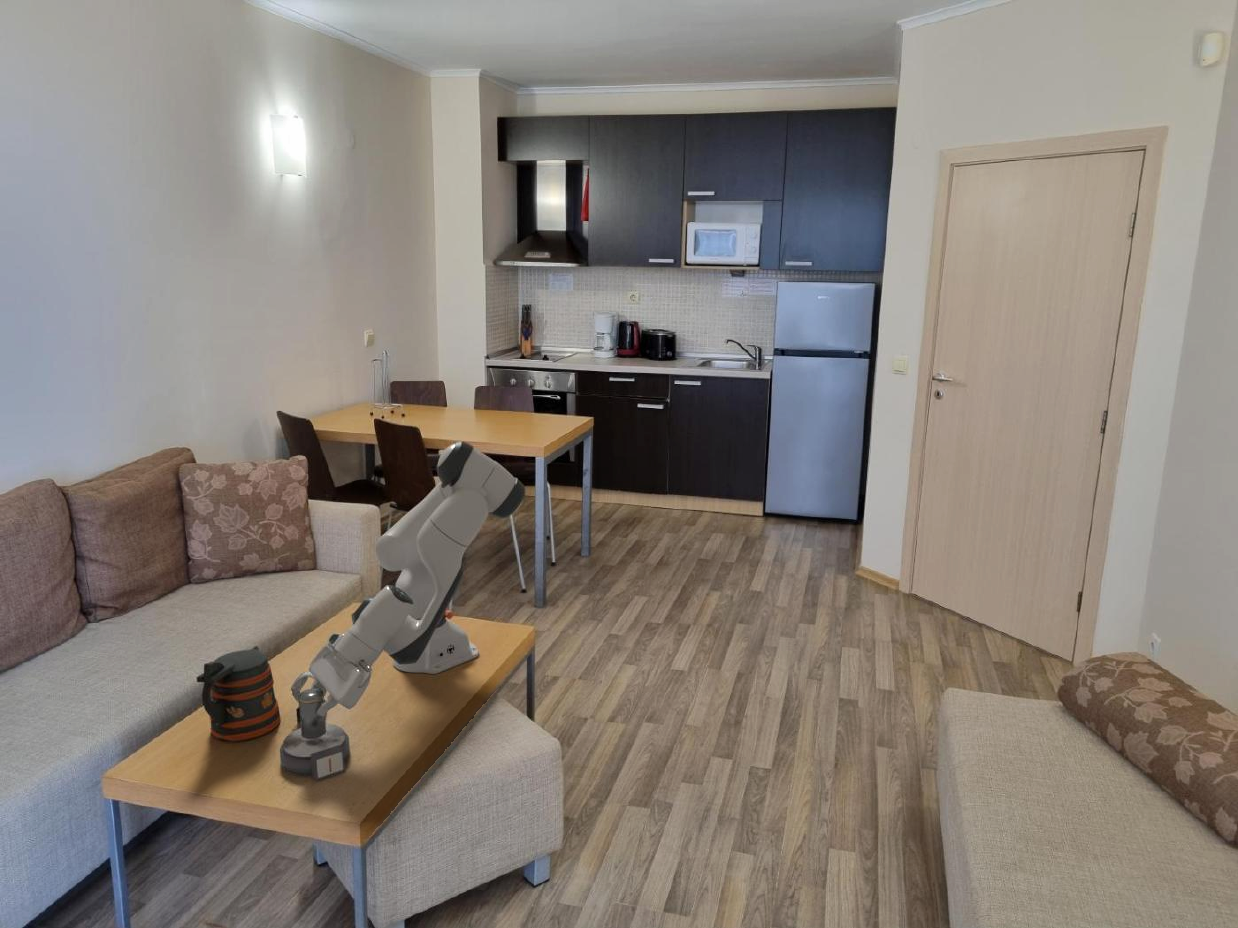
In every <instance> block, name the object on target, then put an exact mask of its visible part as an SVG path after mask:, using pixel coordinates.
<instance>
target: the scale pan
mask: <svg viewBox="0 0 1238 928" xmlns="http://www.w3.org/2000/svg"><path fill="white" fill-rule="evenodd" d="M345 733H346V732H345V730H344V729H343V728H342V727H340V726H339V725H336V724H331V723H326V733H325V734H324V735H323V736H321V737H319V738H315V739H306V738H303V737H302V735H301V727H300V728H297V729H296V730H294V731H292V732H290V733H288V734H287V736H286V737H284V739H283V742H282V744H283V750H284V752H285V753H286V754H288V755H289V756H292V757H296V758H311V755H310V754H313V753H316V752H319V751H322V750H325V749H328V748H331V747H335V746H338V745H340V747H341V746H342V745H343V743H344V741H345Z"/></svg>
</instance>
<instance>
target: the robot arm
mask: <svg viewBox="0 0 1238 928" xmlns="http://www.w3.org/2000/svg"><path fill="white" fill-rule="evenodd" d="M436 473H437V477H438V478H439V480H440V481H439V482H437V483H438V484H437V485H435V486H434V487H433V489H432V490H431V491H430V492H429V493H428V494H427V495H426V496H425V497H424V499H422V500H421V501H420V502H419V503H418V504H416V505H415V506H414V507H413V508H412V509H410V510H409V511H408V512H407V513H406V514H405V515H403V516H402V517H401V518H400V519H399V520H398V521H397V522H396V523H395V524H394V525H393V526H392V527H390V528H389V529H388V530H387V531H385V532H384V534H382V535H381V536H380V537H379V538H378V539H377V540H376V542H375V545H374V548H373V549H374V555H375V558H376V561H377V562H378V564H379V565H380V566H381V567H382V568H383V569H385V570H386V571H388V572H398V571H401V573H400V575H399V576H398V578H397V580H396V582H395V585H391V584H387V585H385V586H384V587H383V588H382V589H381V590H380V591H379V592H378V593H377V594H371V595H366V596H364V599H363V600H362V602H361V603H360V605H359V606H357V608H356V609H355V610H354V612H353V613H351V622H352V625H351V626H350V627H349V628H348V629H347V631H346V632H345V633H339V632H338V633H337V632H333V633H331V634H330V635H329V636H328V638H327V639H326V640H327V643H325V644H324V645H322V647H321V648H320V650H318V652H317V653H316V654H315V656H314V657H313V658H312V660H311V662H310V663H309V667H308V671H310V672H311V673H312V674H313V676H314V677H315V678H316V680H315V679H314V681H313V682H312V685H311V687H310V689H323V688H325V689H326V690H327V692H328V693H329V695H328V696H327V697H326V702H324V703H323V704H319V706H318V708H316V712H317V713H318V714H319V715H320V716H325V717H326V714H328V712H329V711H330V710H331V709H334V708H335V707H337V705H340V706H342V707H344V708H345V709H348V710H350V709H352V708H354V707H355V706H356V705H357V704H358V702H359V701H360V699H361V698H362V696H363V695H364V693H365V692H366V690H367V688H368V686H369V685H370V680H371V678H372V671H373V669H372V667H373V665H374V664H375V662H376V661H377V660H378V659H379V657H380V656H381V655H382V653H383V652H384V653H386V654H387V655H388V656H389V657H390V658H392V660H393V661H392V664H393V667H395V668H396V669H397V670H399V671H402V672H406V673H423V674H431V675H434V674H438V673H441V672H443V671H446V670H448V669H451V668H453V667H455V666H457V665H461V664H463V663H465V662H468V661H470V660H472V659H473V660H474V659H475V658H477V657H479V649H478V647H477V646H476V645H475V644H474V643H473V642H471V641H470V640H469V636H468V634H467V632H466V631H465V629H464V628H462V627H461V626H459V625H457V624H456V623H454V622H452V621H451V619H453V617H454V612H453V611H451V610H449V609H448V608H449V606H450V604H451V602H452V600H453V597H454V595H455V593H456V591H457V590H458V587H459V586H460V584H461V582H462V579H463V577H464V568H463V566H462V561H463V556H464V554H465V552H466V550H467V549H468V548H469V546H470V545H471V544H472V543H473V541H474V540H475V538H476V537H477V536H478V534H479V532H480V530H481V529H482V528H483V525H484V524H485V521H486V520H487V518H488V516H489V514H490V515H491V516H493V517H495V518H498V519H506V518H509V517H510V516H512V515H513V514H515V513H516V512H517V511H518V510H519V509H520V507H521V506H522V503H523V502H524V498H525V496H526V488H525V486H524V484H523V483H522V481H520V480H519V478H518V477H515V476H513V474H511V473H510V472H509V471H508V470H507V469H506V468H505V467H504V466H502V465H501V464H500V463H499V462H497V461H496V460H493V459H492V458H491V457H489V456H487V455H486V454H485V453H483V452H482V451H479V450H478V449H475V448H474V446H473V445H472V444H470V443H468V442H465V441H462V440H459V441H455V442H454V443H452V444H451V445H449V446H448V447H446V448H445V449H444V450H443V451H442V453H441V454H440V456H439V459H438V462H437V465H436Z"/></svg>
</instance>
